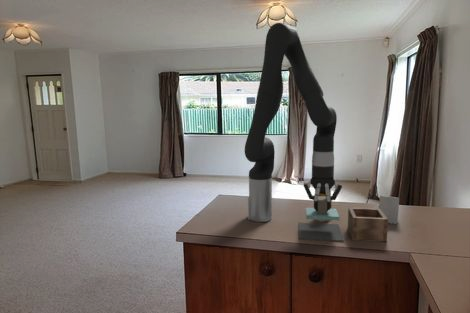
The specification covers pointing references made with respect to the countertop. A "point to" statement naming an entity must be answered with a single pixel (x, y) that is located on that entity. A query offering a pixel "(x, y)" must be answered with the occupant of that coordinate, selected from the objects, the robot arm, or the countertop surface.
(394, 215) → the grey rectangular block
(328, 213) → the lid
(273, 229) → the countertop surface
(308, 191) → the robot arm
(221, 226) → the countertop surface
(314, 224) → the mat
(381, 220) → the storage box
